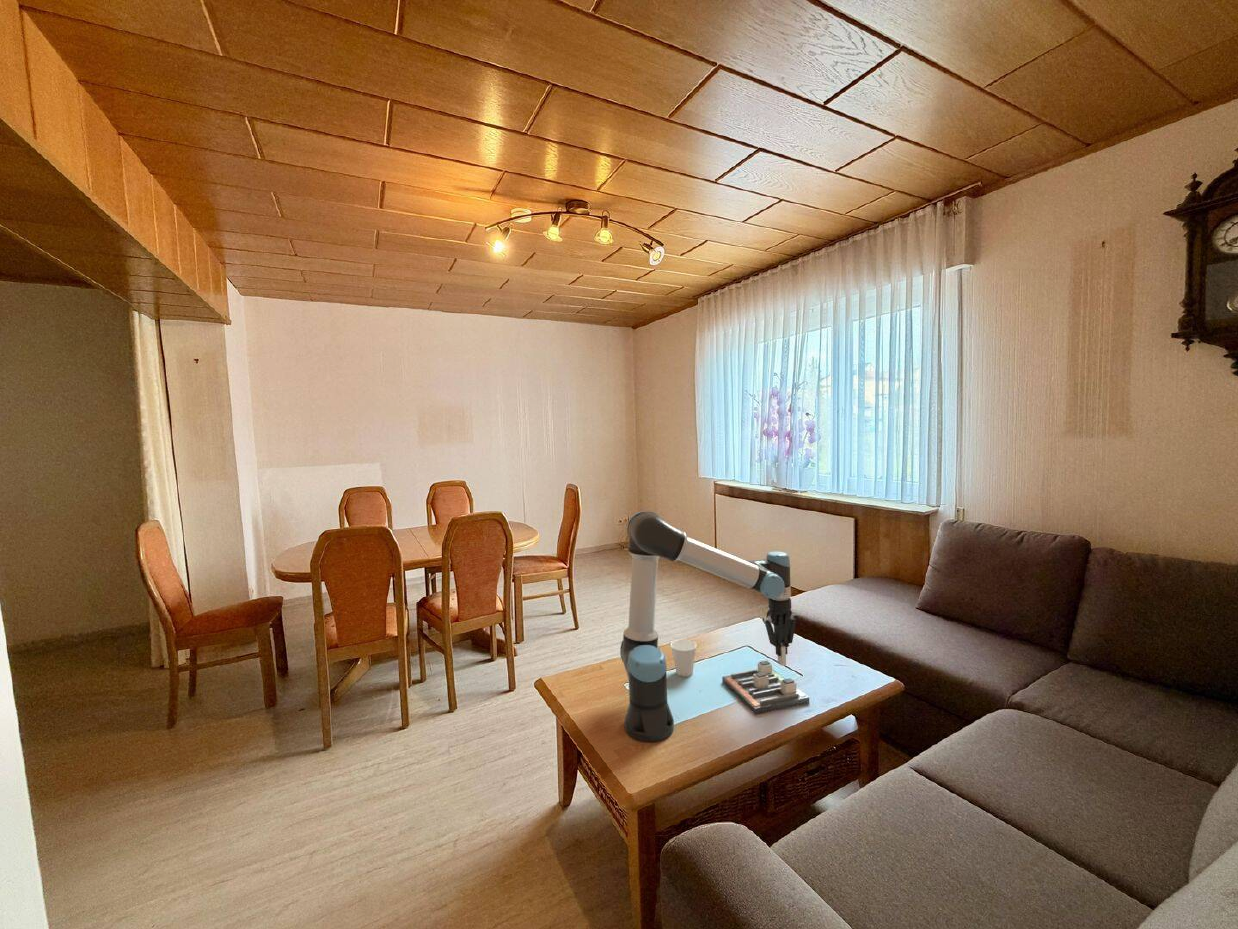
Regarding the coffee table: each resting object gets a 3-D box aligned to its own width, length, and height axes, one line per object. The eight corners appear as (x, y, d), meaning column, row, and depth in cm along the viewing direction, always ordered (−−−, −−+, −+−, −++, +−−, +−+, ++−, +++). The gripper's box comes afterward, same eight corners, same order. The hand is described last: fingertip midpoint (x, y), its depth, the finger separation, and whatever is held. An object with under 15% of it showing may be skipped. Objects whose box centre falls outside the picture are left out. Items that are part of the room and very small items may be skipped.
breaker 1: (762, 677, 173) (762, 665, 173) (757, 673, 176) (757, 661, 176) (772, 675, 174) (772, 663, 174) (767, 671, 177) (767, 659, 177)
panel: (755, 714, 154) (755, 705, 154) (722, 682, 175) (722, 673, 175) (809, 703, 159) (809, 693, 159) (770, 673, 181) (770, 664, 180)
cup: (697, 680, 177) (696, 651, 177) (670, 679, 179) (669, 649, 179) (698, 668, 187) (697, 640, 186) (672, 666, 189) (671, 638, 188)
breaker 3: (786, 696, 160) (785, 683, 160) (780, 692, 163) (780, 679, 163) (796, 694, 161) (796, 681, 161) (791, 690, 164) (790, 677, 164)
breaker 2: (758, 689, 165) (758, 677, 165) (753, 685, 168) (753, 673, 168) (768, 687, 166) (768, 675, 166) (763, 683, 169) (763, 671, 169)
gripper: (769, 603, 162) (771, 672, 163) (802, 597, 166) (804, 665, 167) (756, 596, 169) (759, 662, 171) (789, 591, 173) (791, 656, 174)
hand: (781, 663), depth 169 cm, fingers closed
